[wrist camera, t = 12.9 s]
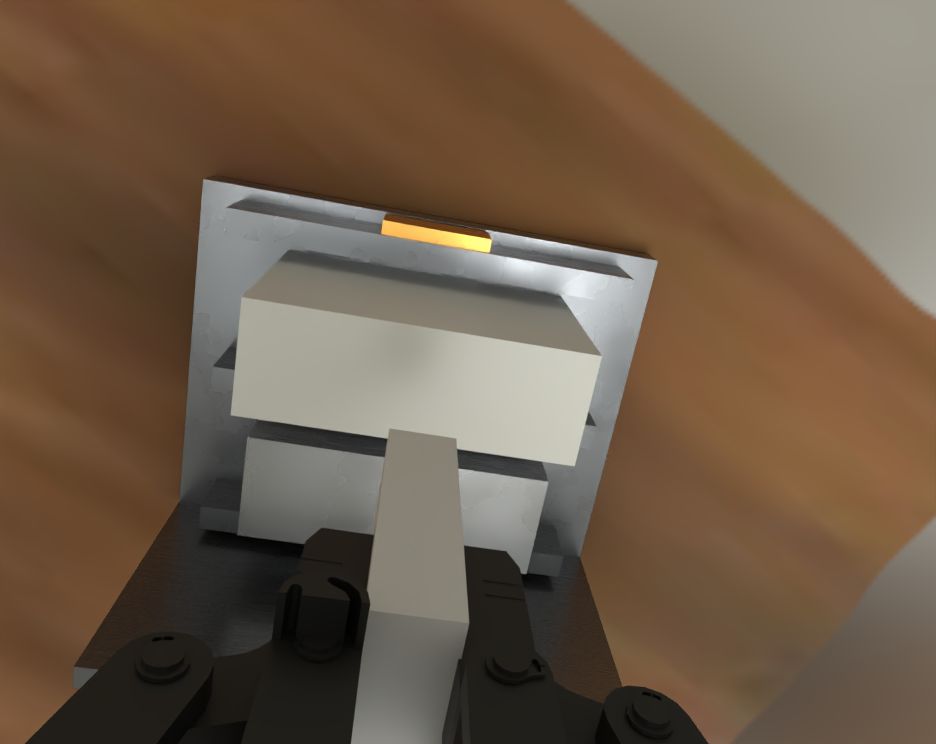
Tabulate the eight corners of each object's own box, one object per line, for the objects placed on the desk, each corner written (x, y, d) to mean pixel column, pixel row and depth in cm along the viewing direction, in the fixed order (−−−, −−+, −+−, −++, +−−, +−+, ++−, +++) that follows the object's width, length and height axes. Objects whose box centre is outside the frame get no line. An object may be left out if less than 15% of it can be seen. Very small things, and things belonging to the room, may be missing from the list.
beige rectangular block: (279, 341, 32) (230, 415, 24) (288, 249, 30) (241, 296, 23) (541, 382, 33) (574, 466, 25) (561, 296, 31) (602, 356, 24)
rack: (188, 501, 35) (73, 687, 24) (213, 175, 31) (86, 215, 19) (570, 554, 37) (631, 751, 26) (648, 254, 33) (763, 332, 21)
